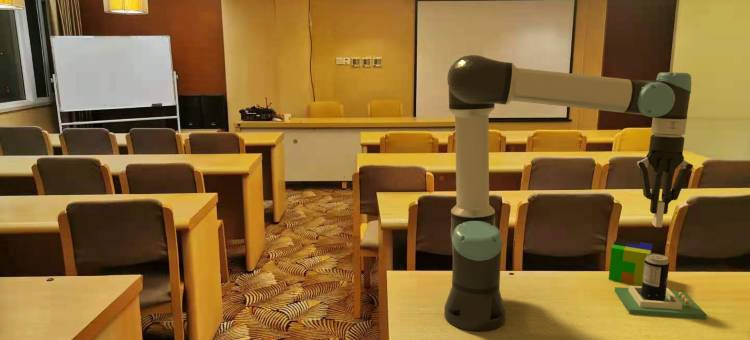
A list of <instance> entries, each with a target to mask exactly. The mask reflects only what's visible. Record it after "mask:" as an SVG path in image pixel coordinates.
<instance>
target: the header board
mask: <svg viewBox="0 0 750 340" xmlns="http://www.w3.org/2000/svg"><path fill="white" fill-rule="evenodd" d="M641 291H642V286H638V285H628V287H621V286H620V287H617V286H615V287H614V293H615V294H616V295H617V297H618V299H619V300H620V302H621V303H622V305H623V306H624V308H625V310H626V311H627V312H628V314H629V315H640V316H641V315H642V316H658V317H669V318H670V317H672V318H685V319H686V318H687V319H698V320H699V319H702V320H707V315H708V314H707V313H706V312H705V311H704V310H703V309H702V308H701V307H700V306H699V305H698V304H697V303H696V302H695V301H694V300H693V299H692V298H691V296H690V295H689V294H688V293H687V292H685V291H684V290H671V289H669V288H668V287H667V288H666V297H665V300H664V301H651V300H645V299H644V298H643V297H642V295H641Z"/></svg>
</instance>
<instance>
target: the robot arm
mask: <svg viewBox="0 0 750 340" xmlns="http://www.w3.org/2000/svg"><path fill="white" fill-rule="evenodd" d="M447 73H448V74H447V85H448V110H449V112H451V113H452V115H454V124H455V127H454V129H455V130H454V131H455V133H454V137H455V188H456V189H455V190H456V195H455V196H456V198H455V199H456V204H455V205H454V206H453V207H452V208H451V209H450V217H451V219H450V221H451V222H450V223H451V226H450V239H451V248H452V271H451V273H452V277H451V288H450V291H449V294H448V295H447V299H446V301H445V304H444V311H443V312H444V313H443V315H444V319H445V320H446V321H447V322H448V323H449V324H451V325H452V326H455V327H457V328H460V329H462V330H465V331H466V330H467V331H472V332H473V331H474V332H487V331H492V330H496V329H498V328H500V327H502V326H503V325H504V324H505V322H506V314H507V313H506V308H505V304H504V300H503V298H502V294H501V291H500V285H501V284H500V283H501V282H500V281H501V263H502V261H501V260H502V259H501V258H502V249H503V239H502V233H501V231H500V229H499V228H498V227H497V226H496V211H495V208H494V207H492V206H491V204H490V163H489V161H490V155H489V154H490V146H489V145H490V144H489V143H490V139H489V138H490V136H489V135H490V134H489V133H490V132H489V127H490V126H489V118H490V117H489V115H490V114H491V113H492V112H493V111H494V110H495V106H496V104H497V105H504V106H505V105H508V104H510V103H511V102H518V103H519V102H520V103H529V104H530V103H531V104H540V105H550V106H557V107H559V106H560V107H567V108H579V109H587V110H597V111H604V112H605V111H606V112H616V113H625V114H631V115H641V116H645V117H650V118H652V122H651V129H650V130H651V131H650V133H652V134H651V136H650V138H649V140H650V141H649V147H648V153H647V154H646V156H645V158H643V159H641V160H637V161H636V162H635V163H636V166H637V167H638V170H639V173H640V175H639V176H640V181H641V187H642V194H643V196H644V197H645V198H646V200H650V208H649V211H650V213H651V214H652V221H651V222H652V223H651V224H652V225H653V226H654V227H655V228H663V227H662V226H663V220H664V215H667V214H668V212H669V211H668V210H669V203H671V202H672V201H677V200H678V198H679V196H680V194H681V192H682V188H683V186H684V183H685V182H686V179H687V176H688V173H689V172H690V171H691V170H692V169H693V168H694V165H693V164H692V163H689V162H688V161H686V160H685V156H684V154H683V153H684V145H685V140H686V139H685V137H684V135H685V134H686V129H687V122H688V110H689V105H690V97H691V93H692V76H691V74H690V73H688V72H670V71H669V72H667V71H666V72H664V71H663V72H661V71H660V72H659V73H658V74H657V76H656V79H652V80H646V79H645V80H642V79H641V80H640V79H628V78H619V77H611V76H610V77H609V76H608V77H607V76H599V75H591V74H590V75H589V74H578V73H569V72H559V71H552V70H551V71H550V70H541V69H534V68H533V69H532V68H523V67H522V68H521V67H517V66H516V65H515V64H514V63H513V62H509V61H508V62H507V61H499V60H495V59H491V58H488V57H485V56H482V55H478V54H469V55H464V56H462V57H459V58H458V59H456V60H455V62H453V63H452V65H451V66H450V68H449V69H448V72H447ZM649 165H650V167H651V168H652V183H651V185H650V177H649V172H648V167H649ZM678 167H679V170H678V172H677V175H676V177H675V179H674V182H673V177H674V174H675V170H676V169H678ZM662 176H663V177H662ZM662 178H663V182H662ZM661 183H662V189H661ZM672 183H673V184H672ZM661 190H662V191H661ZM660 193H661V199H660Z"/></svg>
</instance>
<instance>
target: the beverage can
mask: <svg viewBox="0 0 750 340" xmlns="http://www.w3.org/2000/svg"><path fill="white" fill-rule="evenodd" d="M669 267H670V262H669V258H668V256H666V255H664V254H660V253H652V254H648V255H647V257H646V258H645V262H644V272H643V282H642V291H641V295H642V297H643V298H644V299H645V300H651V301H664V300H665V297H666V288H668V287H667V286H668V278H669V269H670V268H669Z"/></svg>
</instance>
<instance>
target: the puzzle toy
mask: <svg viewBox="0 0 750 340" xmlns="http://www.w3.org/2000/svg"><path fill="white" fill-rule="evenodd" d="M653 248H654V244H653V243H649V242H643V241H642V242H641V241H635V240H629V239H623V238H616V239H615V241H614V242H613V244H612V245H611V249H610V260H609V270H608V271H609V272H608V280H609V281H612V282H617V283H622V284H629V285H632V286H642V282H643V272H644V262H645V258H646V257H647V255H648V254H653Z"/></svg>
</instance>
